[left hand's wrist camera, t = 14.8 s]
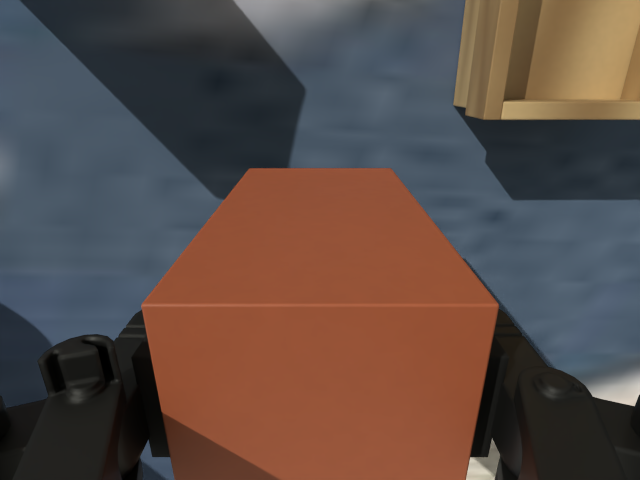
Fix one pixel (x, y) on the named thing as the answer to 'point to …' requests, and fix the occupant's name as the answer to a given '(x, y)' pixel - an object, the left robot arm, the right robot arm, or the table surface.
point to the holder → (550, 60)
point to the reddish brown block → (320, 335)
